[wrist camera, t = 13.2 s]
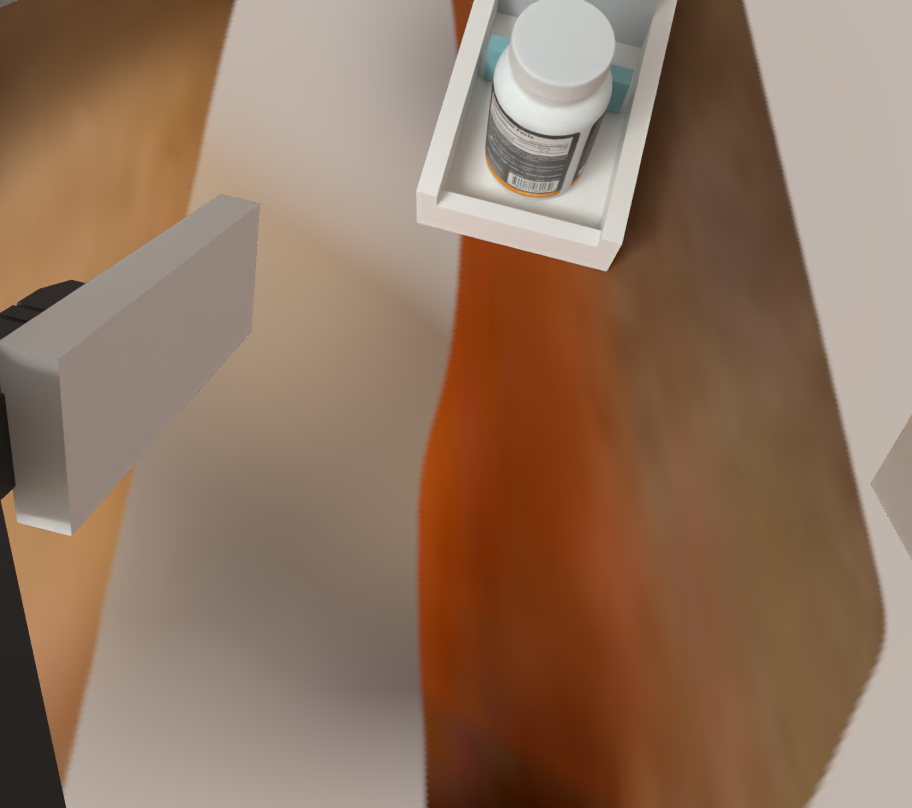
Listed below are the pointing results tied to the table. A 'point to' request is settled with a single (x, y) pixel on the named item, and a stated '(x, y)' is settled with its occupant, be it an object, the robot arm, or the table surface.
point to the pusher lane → (606, 172)
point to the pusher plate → (619, 74)
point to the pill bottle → (549, 98)
